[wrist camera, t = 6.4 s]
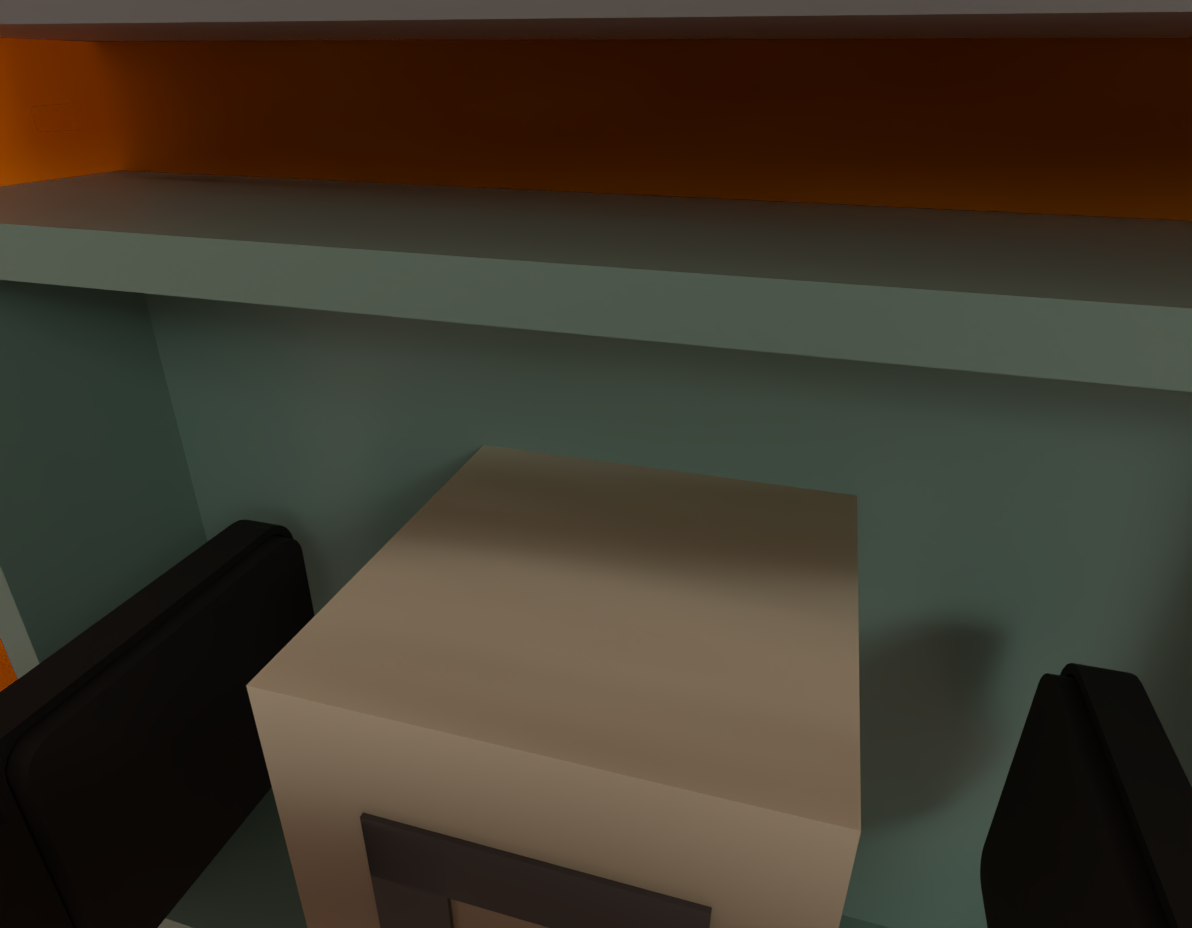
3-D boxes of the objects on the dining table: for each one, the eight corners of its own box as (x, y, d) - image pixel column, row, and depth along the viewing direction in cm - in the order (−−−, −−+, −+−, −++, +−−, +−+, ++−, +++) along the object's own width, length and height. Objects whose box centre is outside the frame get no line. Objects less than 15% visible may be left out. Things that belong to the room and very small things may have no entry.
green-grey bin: (120, 170, 10) (-180, 211, 7) (1562, 238, 7) (2155, 378, 4) (265, 751, 15) (119, 922, 12) (1154, 982, 11) (1265, 1311, 8)
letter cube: (480, 444, 10) (235, 689, 6) (857, 495, 9) (862, 837, 5) (497, 712, 12) (323, 1027, 8) (805, 782, 11) (779, 1187, 7)
